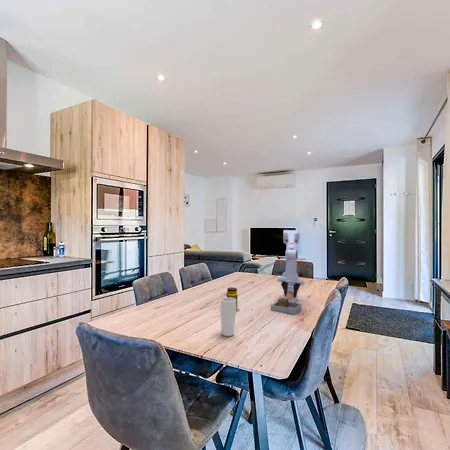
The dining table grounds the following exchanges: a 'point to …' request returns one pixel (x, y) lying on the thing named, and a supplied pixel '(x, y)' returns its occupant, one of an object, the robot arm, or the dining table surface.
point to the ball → (290, 295)
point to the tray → (291, 308)
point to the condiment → (232, 294)
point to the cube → (283, 302)
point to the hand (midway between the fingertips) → (290, 296)
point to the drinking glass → (228, 315)
